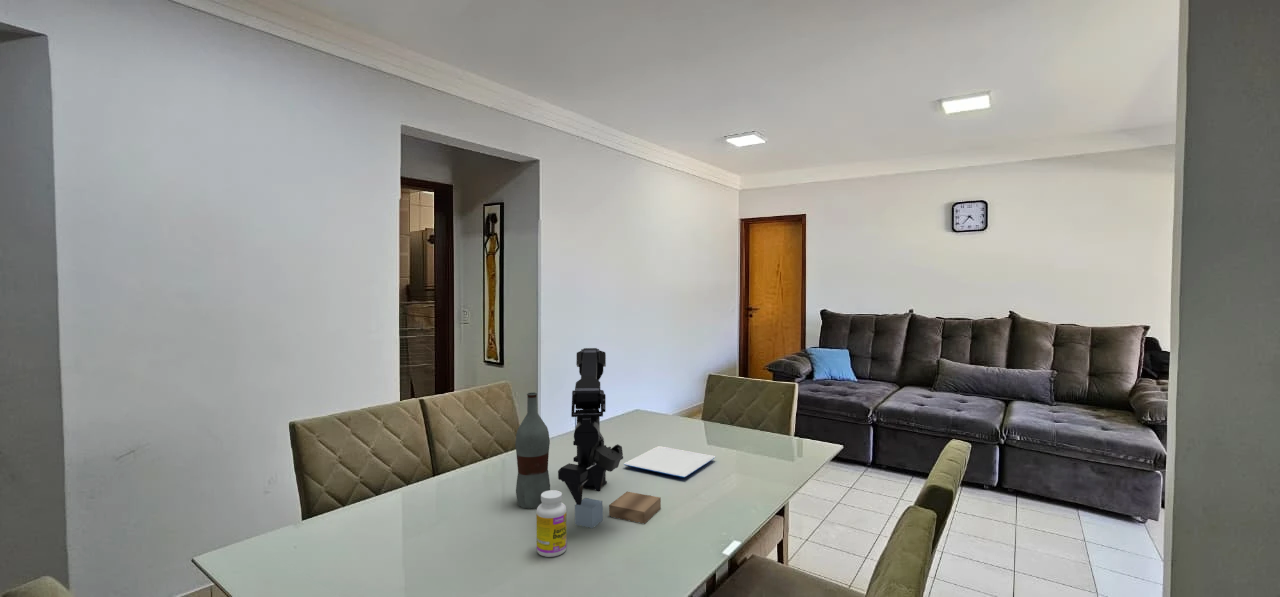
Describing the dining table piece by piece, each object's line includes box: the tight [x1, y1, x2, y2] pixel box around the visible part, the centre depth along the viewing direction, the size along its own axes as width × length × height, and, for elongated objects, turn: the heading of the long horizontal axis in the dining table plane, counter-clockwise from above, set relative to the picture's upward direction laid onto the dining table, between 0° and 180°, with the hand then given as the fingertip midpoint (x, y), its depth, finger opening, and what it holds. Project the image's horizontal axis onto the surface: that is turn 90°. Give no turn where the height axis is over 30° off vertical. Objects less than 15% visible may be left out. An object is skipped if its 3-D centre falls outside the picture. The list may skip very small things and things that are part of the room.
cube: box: [574, 497, 604, 529], centre depth 137 cm, size 5×5×5 cm
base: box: [608, 491, 662, 525], centre depth 143 cm, size 10×10×3 cm
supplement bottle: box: [535, 489, 568, 558], centre depth 123 cm, size 7×7×13 cm
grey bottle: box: [514, 391, 551, 509], centre depth 149 cm, size 9×9×30 cm
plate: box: [623, 445, 716, 478], centre depth 180 cm, size 22×22×2 cm
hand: (588, 497), depth 137 cm, fingers open, 9 cm apart
